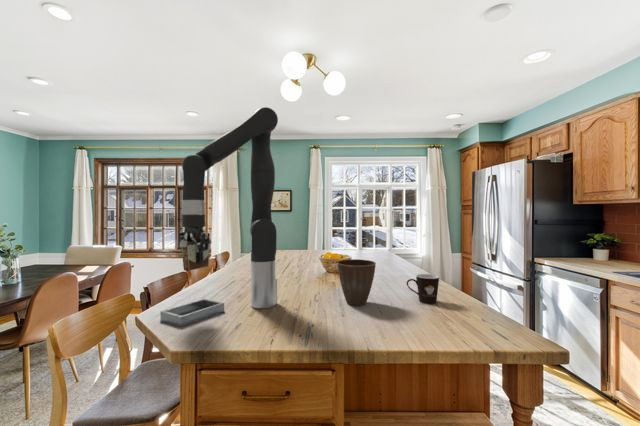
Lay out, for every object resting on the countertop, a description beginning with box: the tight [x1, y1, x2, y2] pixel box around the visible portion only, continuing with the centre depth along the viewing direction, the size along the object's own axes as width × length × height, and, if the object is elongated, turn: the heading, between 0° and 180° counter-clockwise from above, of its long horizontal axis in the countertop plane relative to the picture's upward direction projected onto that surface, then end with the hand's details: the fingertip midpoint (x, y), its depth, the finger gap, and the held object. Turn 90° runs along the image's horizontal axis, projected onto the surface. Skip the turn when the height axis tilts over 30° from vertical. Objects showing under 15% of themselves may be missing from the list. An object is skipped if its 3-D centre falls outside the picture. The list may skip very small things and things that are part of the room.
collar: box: [160, 298, 225, 328], centre depth 102 cm, size 17×11×3 cm, turn 149°
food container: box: [179, 237, 212, 272], centre depth 102 cm, size 12×6×10 cm, turn 161°
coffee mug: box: [406, 273, 440, 305], centre depth 118 cm, size 12×9×10 cm
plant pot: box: [336, 258, 377, 307], centre depth 115 cm, size 15×15×16 cm
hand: (193, 262), depth 102 cm, fingers closed on food container, 5 cm apart
